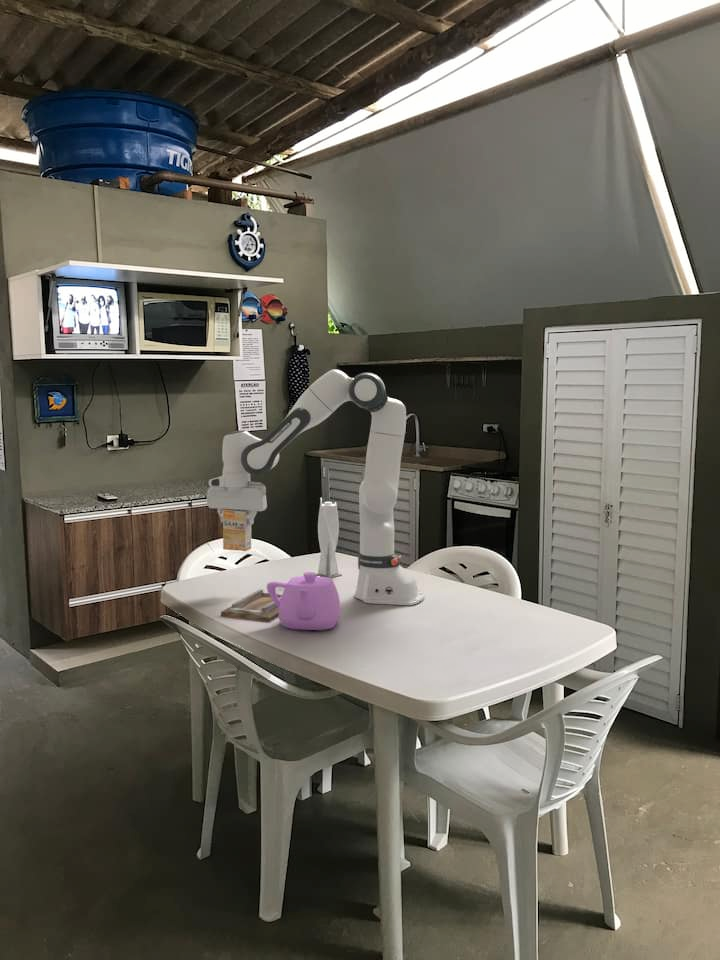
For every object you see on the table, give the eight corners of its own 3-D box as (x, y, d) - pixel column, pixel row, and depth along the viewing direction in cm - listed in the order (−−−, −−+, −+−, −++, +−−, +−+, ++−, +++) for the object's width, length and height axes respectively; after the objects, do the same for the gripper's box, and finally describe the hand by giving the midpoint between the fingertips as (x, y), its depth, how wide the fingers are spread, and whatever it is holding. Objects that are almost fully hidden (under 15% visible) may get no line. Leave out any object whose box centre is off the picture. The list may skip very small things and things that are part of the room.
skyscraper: (311, 575, 276) (311, 497, 273) (326, 571, 282) (326, 495, 279) (328, 579, 271) (329, 500, 267) (343, 575, 277) (344, 497, 274)
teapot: (272, 614, 229) (272, 565, 227) (343, 617, 227) (343, 567, 225) (255, 639, 206) (255, 584, 204) (334, 642, 204) (334, 587, 202)
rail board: (301, 601, 242) (301, 591, 242) (270, 621, 222) (270, 611, 221) (255, 596, 247) (255, 587, 247) (220, 615, 227) (220, 605, 226)
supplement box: (222, 549, 250) (221, 510, 249) (229, 547, 255) (228, 507, 253) (245, 551, 248) (245, 511, 246) (252, 548, 252) (251, 509, 251)
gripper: (270, 481, 248) (270, 523, 250) (214, 478, 255) (214, 519, 256) (261, 483, 242) (261, 526, 244) (204, 480, 249) (204, 522, 250)
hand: (237, 523), depth 250 cm, fingers closed on supplement box, 8 cm apart
